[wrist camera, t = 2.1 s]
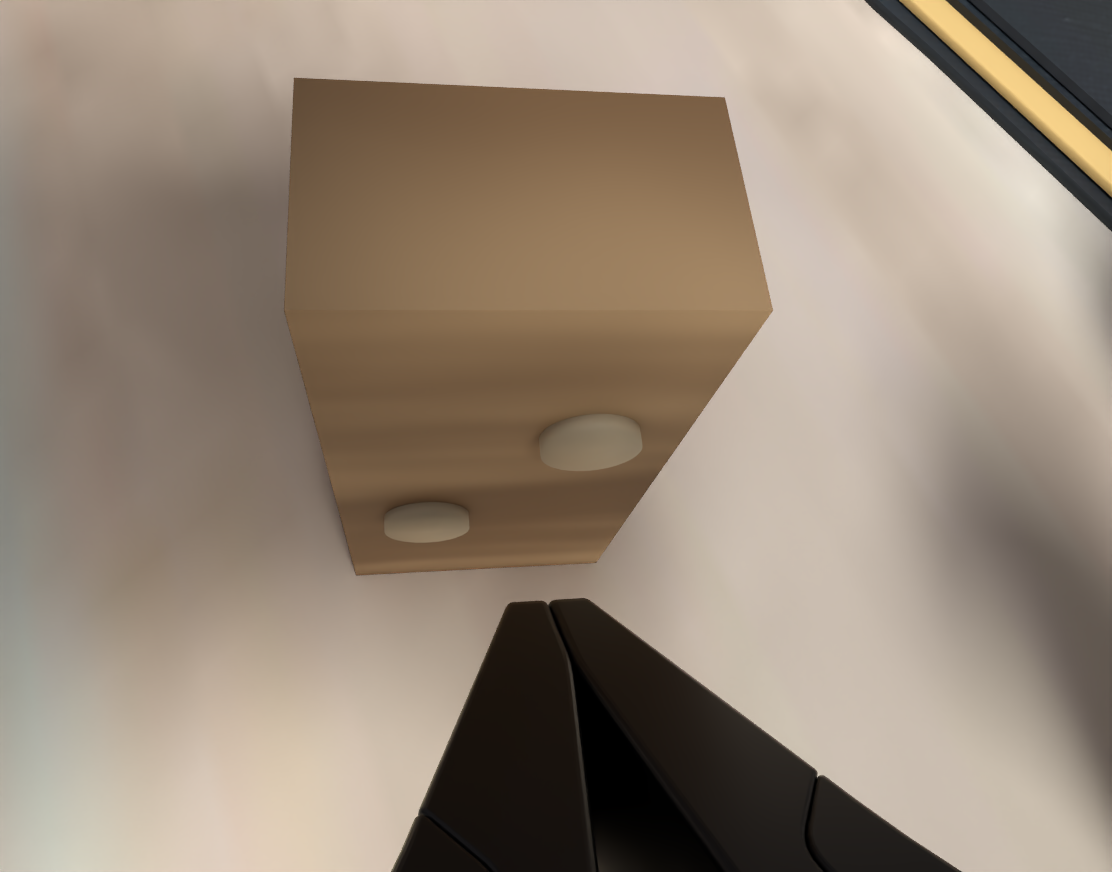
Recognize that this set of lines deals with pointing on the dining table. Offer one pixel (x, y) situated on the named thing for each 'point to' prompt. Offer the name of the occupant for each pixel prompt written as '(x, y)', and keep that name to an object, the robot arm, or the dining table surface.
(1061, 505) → the dining table surface
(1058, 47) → the grey notebook
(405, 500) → the brown rectangular box
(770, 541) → the dining table surface
